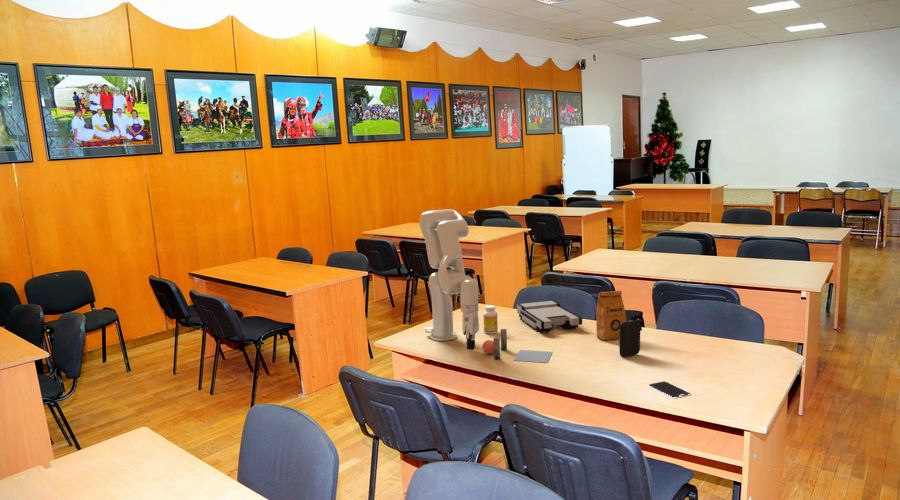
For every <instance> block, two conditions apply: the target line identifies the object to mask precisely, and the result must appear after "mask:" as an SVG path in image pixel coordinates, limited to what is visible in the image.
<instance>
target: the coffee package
mask: <svg viewBox="0 0 900 500" xmlns="http://www.w3.org/2000/svg"><path fill="white" fill-rule="evenodd" d="M622 294H623V291H622V290H613V291H600V292H599V293H598V295H597V296H598V297H597V301H596V324H595V325H596V337H597V338H599V339H600V340H603V341H611V340H613V341H614V340H615V341H616V340H620V325H621V323H623V322H627V314H626V310H625V305H624V300H623V297H622Z"/></svg>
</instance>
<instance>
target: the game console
mask: <svg viewBox="0 0 900 500" xmlns="http://www.w3.org/2000/svg"><path fill="white" fill-rule="evenodd" d="M516 313H517V314H518V317H519V318H520V321H521V320H522V321H521V322H523V323H524V322H525V323H526V324H525V323H524V324H525V325H527V326H528V325H529V326H528V327H530V328H531V327H532V328H531V329H533V330H534V331H535V330H536V331H535V332H537V333H538V332H539V333H538V334H540V332H542V333H549V331H553V328H554V327H555V328H556V327H558V328H560V327H561V328H560V329H562V330H563V331H570V330H576V329H577V328H579V326H580V325H583V317H581V316H579V315H578V314H576V313H574V312H572V311H571V310H569V309H567V308H565V307H563V306H561V303H560V302H558V301H556V300H547V301H537V302H536V301H535V302H526V303H518V304H516Z"/></svg>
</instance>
